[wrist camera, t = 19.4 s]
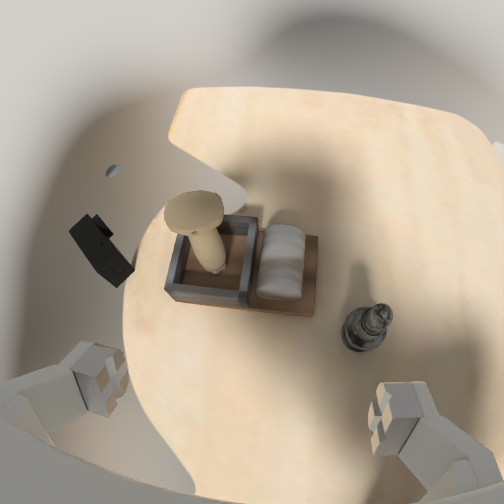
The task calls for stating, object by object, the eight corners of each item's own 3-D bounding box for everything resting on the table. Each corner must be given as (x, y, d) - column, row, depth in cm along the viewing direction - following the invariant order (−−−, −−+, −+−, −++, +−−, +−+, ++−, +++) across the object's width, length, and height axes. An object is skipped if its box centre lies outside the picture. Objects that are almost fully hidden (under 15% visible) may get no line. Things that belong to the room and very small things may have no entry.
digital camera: (141, 265, 50) (123, 246, 43) (117, 288, 48) (96, 272, 42) (109, 229, 53) (91, 208, 47) (87, 249, 52) (68, 230, 45)
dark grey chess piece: (378, 314, 44) (409, 286, 33) (378, 354, 41) (411, 338, 30) (340, 312, 44) (360, 284, 33) (338, 353, 42) (360, 337, 31)
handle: (194, 253, 48) (164, 195, 35) (236, 248, 48) (221, 187, 35) (195, 283, 46) (163, 233, 33) (239, 278, 46) (224, 225, 32)
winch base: (312, 316, 44) (318, 303, 38) (175, 301, 47) (161, 286, 41) (316, 240, 49) (322, 218, 43) (191, 230, 52) (181, 207, 46)
